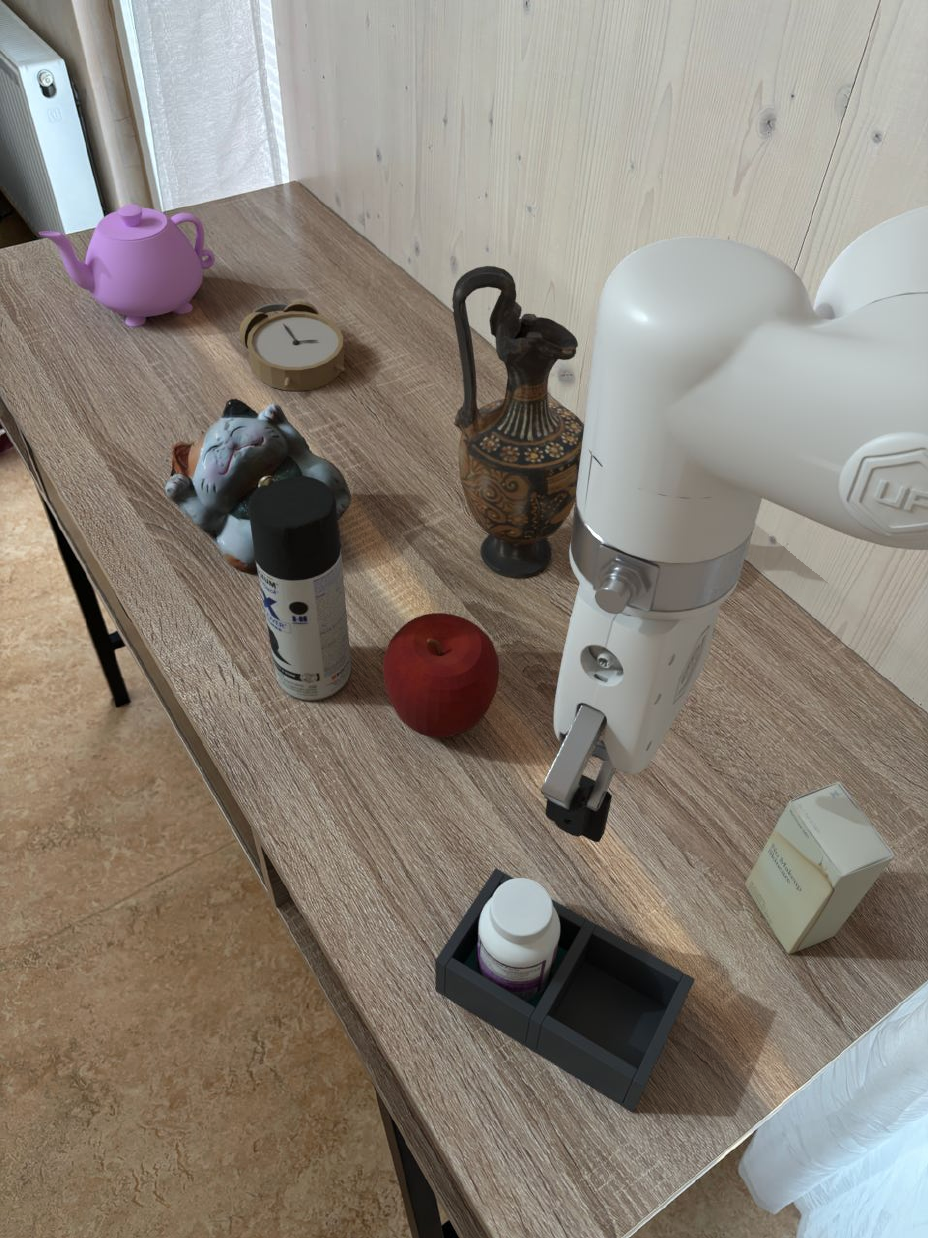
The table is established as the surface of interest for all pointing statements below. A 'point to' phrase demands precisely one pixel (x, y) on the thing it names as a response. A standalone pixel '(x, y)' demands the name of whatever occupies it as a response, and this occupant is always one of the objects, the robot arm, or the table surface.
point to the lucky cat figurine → (243, 474)
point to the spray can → (302, 585)
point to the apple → (440, 674)
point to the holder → (575, 1001)
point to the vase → (516, 432)
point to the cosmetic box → (816, 867)
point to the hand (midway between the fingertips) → (612, 760)
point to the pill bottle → (518, 938)
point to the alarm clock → (292, 346)
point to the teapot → (139, 263)
